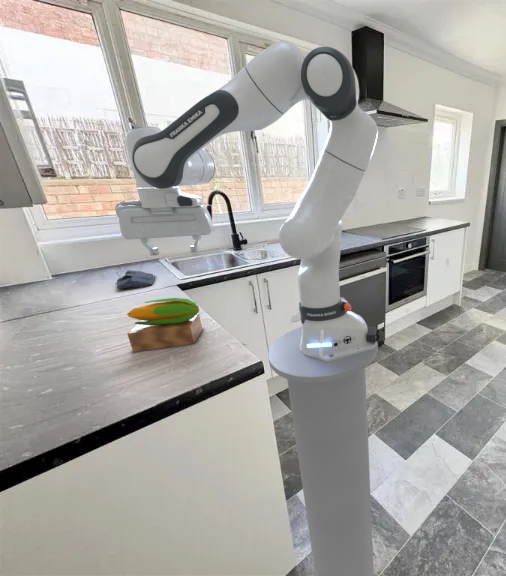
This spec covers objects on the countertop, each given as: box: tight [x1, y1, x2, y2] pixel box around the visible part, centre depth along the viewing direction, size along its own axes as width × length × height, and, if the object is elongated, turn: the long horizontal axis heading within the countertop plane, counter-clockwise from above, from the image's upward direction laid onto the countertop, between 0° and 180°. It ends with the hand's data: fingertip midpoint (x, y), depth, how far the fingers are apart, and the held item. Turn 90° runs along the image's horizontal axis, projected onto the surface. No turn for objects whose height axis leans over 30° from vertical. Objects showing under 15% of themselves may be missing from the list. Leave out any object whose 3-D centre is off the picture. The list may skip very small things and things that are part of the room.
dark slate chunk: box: [116, 269, 156, 289], centre depth 151 cm, size 15×22×5 cm
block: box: [126, 312, 203, 353], centre depth 95 cm, size 16×10×6 cm, turn 106°
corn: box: [126, 297, 200, 325], centre depth 93 cm, size 7×8×20 cm
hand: (175, 253), depth 82 cm, fingers open, 8 cm apart
